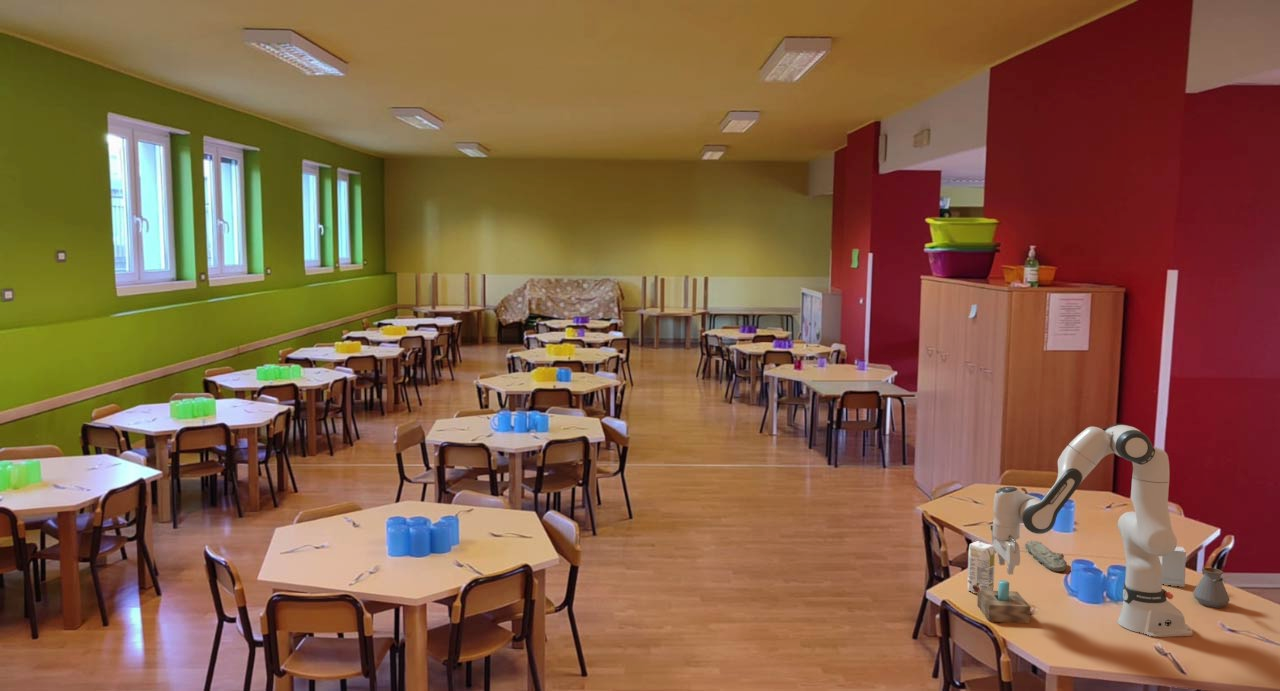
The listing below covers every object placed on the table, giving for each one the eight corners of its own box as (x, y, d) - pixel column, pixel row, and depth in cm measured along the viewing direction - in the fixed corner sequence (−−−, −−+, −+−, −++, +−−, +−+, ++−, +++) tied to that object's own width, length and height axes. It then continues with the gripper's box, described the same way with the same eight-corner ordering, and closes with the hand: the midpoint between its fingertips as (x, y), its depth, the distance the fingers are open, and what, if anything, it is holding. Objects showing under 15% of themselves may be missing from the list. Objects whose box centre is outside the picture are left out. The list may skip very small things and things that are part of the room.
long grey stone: (1042, 549, 387) (1019, 550, 388) (1042, 537, 387) (1019, 538, 388) (1073, 573, 352) (1048, 573, 353) (1073, 560, 352) (1048, 560, 353)
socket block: (1016, 607, 318) (1017, 591, 317) (1029, 622, 304) (1030, 606, 303) (977, 605, 319) (977, 590, 319) (988, 621, 305) (989, 605, 305)
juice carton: (985, 597, 327) (987, 549, 325) (964, 591, 334) (966, 543, 332) (995, 592, 332) (997, 545, 330) (974, 586, 338) (976, 539, 337)
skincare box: (1182, 583, 342) (1184, 546, 340) (1185, 588, 336) (1187, 551, 335) (1157, 580, 345) (1160, 544, 344) (1160, 585, 340) (1162, 548, 338)
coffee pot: (1189, 595, 329) (1192, 557, 327) (1225, 600, 324) (1228, 562, 323) (1200, 616, 309) (1203, 576, 308) (1238, 622, 305) (1241, 581, 303)
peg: (1006, 612, 313) (1007, 580, 312) (1009, 616, 310) (1010, 584, 309) (996, 612, 314) (997, 580, 312) (999, 616, 310) (1000, 583, 309)
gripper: (1025, 541, 298) (1024, 579, 299) (1006, 523, 318) (1005, 559, 320) (1006, 541, 299) (1006, 579, 300) (988, 523, 319) (988, 559, 320)
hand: (1005, 569), depth 310 cm, fingers open, 8 cm apart
